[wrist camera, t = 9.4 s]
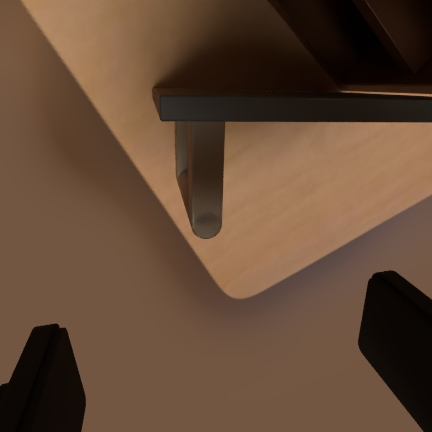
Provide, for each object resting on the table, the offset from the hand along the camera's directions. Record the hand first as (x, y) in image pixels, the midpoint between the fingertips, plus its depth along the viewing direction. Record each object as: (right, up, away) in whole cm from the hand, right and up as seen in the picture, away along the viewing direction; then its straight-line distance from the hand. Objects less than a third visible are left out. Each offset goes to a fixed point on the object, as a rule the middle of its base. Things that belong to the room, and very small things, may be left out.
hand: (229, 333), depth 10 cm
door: (+2, +11, +17) cm, 20 cm away
